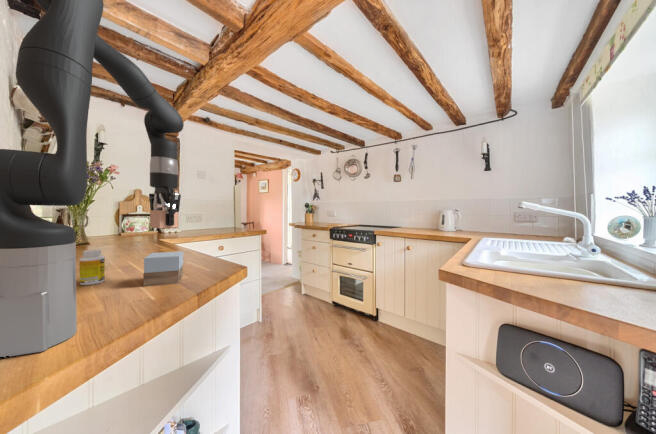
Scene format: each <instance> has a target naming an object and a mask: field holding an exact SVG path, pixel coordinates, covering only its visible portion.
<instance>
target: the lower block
mask: <svg viewBox="0 0 656 434" xmlns="http://www.w3.org/2000/svg"><path fill="white" fill-rule="evenodd" d="M142 273H143V274H142V275H143V278H142V279H143V288H144V287H145V288H146V287H153V286H154V287H155V286H166V285H175V284H176V285H177V284H180V281H181V280H182V278H183V276H184V264H183V265H182V267H181V268H180V270H176V271H163V272H150V273H144V272H142Z"/></svg>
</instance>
